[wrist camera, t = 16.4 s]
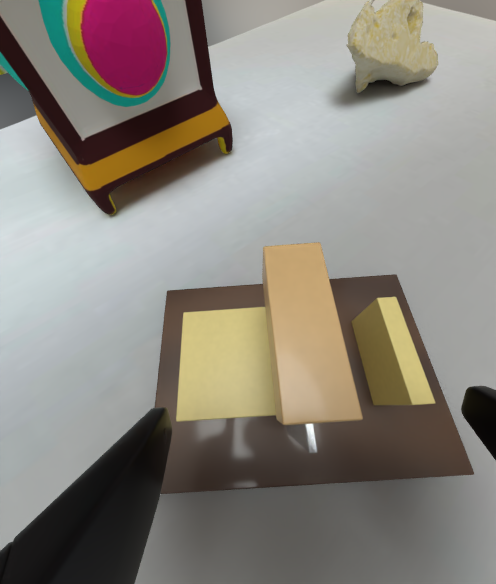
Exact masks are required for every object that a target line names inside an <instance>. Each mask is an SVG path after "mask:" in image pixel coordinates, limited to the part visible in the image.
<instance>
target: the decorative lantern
mask: <svg viewBox="0 0 496 584" xmlns="http://www.w3.org/2000/svg"><path fill="white" fill-rule="evenodd" d="M7 72H8V73H9V74H10V75H11V76H12V77H13V78H14V79H15V80H16V81H17V82H18V83H20V84H21V85H22V86H23V87H24V88H25V89H27V90H28V91H29V92H30V95H31V97H32V100H33V104H34V107H35V111H36V114H37V117H38V119H39V122H40V124H41V126H42V127H43V129H44V130H45V132H46V133H47V135H48V136H49V137H50V139H51V140H52V142H53V143H54V145H55V146H56V148H57V149H58V151H59V152H60V154H61V155H62V157H63V158H64V160H65V161H66V163H67V164H68V165H69V167H70V168H71V170H72V171H73V173H74V174H75V176H76V177H77V179H78V180H79V182H80V183H81V185H82V186H83V188H84V189H85V191H86V192H87V193H88V195H89V196H90V197H91V199H92V200H93V201H94V202H95V203H96V205H97V206H98V207H99V208H100V209H101V210H102V211H104V212H105V213H107V214H111V215H112V214H114V213H115V212H116V207H115V205H114V203H113V201H112V199H111V196H110V192H111V191H113V190H114V189H115V188H116V187H118V186H120V185H122V184H124V183H126V182H128V181H130V180H132V179H134V178H136V177H138V176H140V175H142V174H144V173H146V172H148V171H150V170H152V169H154V168H156V167H158V166H160V165H162V164H164V163H166V162H168V161H170V160H172V159H174V158H176V157H178V156H180V155H182V154H184V153H186V152H188V151H190V150H192V149H194V148H196V147H198V146H200V145H202V144H204V143H207V142H209V141H211V140H213V139H215V138H217V140H218V144H219V147H220V149H221V151H222V152H223V153H224V154H228V153H229V152H231V150H232V128H231V125H230V122H229V120H228V118H227V116H226V114H225V113H224V111H223V109H222V108H221V106H220V104H219V103H218V101H217V98H216V96H215V92H214V87H213V80H212V73H211V66H210V59H209V51H208V45H207V38H206V30H205V23H204V16H203V9H202V1H201V0H0V75H2V74H4V73H7Z"/></svg>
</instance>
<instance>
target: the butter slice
mask: <svg viewBox="0 0 496 584" xmlns="http://www.w3.org/2000/svg"><path fill="white" fill-rule="evenodd" d="M352 326H353V329H354V333H355V337H356V341H357V344H358V348H359V352H360V356H361V359H362V363H363V367H364V371H365V375H366V378H367V382H368V386H369V390H370V393H371V397H372V401H373V404H374V405H421V404H435V400H434V397H433V395H432V392H431V389H430V387H429V384H428V381H427V379H426V376H425V373H424V371H423V368H422V365H421V363H420V360H419V357H418V355H417V352H416V349H415V346H414V344H413V341H412V338H411V336H410V333H409V330H408V328H407V325H406V322H405V320H404V317H403V314H402V312H401V309H400V306H399V304H398V301H397V298H396V297H385V298H377V299H376V300H374V301H373V302H372V303H371V304H370V305H369V306H368V307H367V308H366V309H365V310H363V311H362V312H361V313H360V314H359V315H358V316H357V317H356V318H355V319H354V320H352Z"/></svg>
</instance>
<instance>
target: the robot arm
mask: <svg viewBox="0 0 496 584" xmlns="http://www.w3.org/2000/svg"><path fill="white" fill-rule="evenodd" d="M461 410H462V414H463V416H464V418H465V419H466V420H467V422H468V423H469V425H470V426H471V427H472V429H473V430H474V431H475V433H476V434H477V436H478V437H479V438H480V440H481V441H482V442H483V444H484V445H485V446H486V448H487V449H488V451H489V452H490V453H491V455H492V456H493V457H494V459H495V460H496V390H494V389H491V388H489V387H486V386H473V387H469V388H468V389H467V390H466V393H465V396H464V400H463V404H462V408H461ZM171 438H172V425H171V420H170V416H169V411H168V409H167V408H166V407H159V408H153V409H151V410H150V411H149V412H148V413H147V414H146V415H145V416H144V417H143V418H142V419H141V420H139V421H138V422H137V423H136V424H135V425H134V426H133V427H132V428H131V429H130V430H129V431H128V432H127V433H126V434H125V435H124V436H122V437H121V438H120V439H119V440H118V441H117V442H116V443H115V444H114V445H113V446H112V447H111V448H110V449H109V450H108V451H106V452H105V453H104V454H103V455H102V456H101V457H100V458H99V459H98V460H97V461H96V462H95V463H94V464H93V465H92V466H91V467H89V468H88V469H87V470H86V471H85V472H84V473H83V474H82V475H81V476H80V477H79V478H78V479H77V480H76V481H75V482H74V483H72V484H71V485H70V486H69V487H68V488H67V489H66V490H65V491H64V492H63V493H62V494H61V495H60V496H59V497H58V498H56V499H55V500H54V501H53V502H52V503H51V504H50V505H49V506H48V507H47V508H46V509H45V510H44V511H43V512H42V513H41V514H39V515H38V516H37V517H36V518H35V519H34V520H33V521H32V522H31V523H30V524H29V525H28V526H27V527H26V528H25V529H24V530H22V531H21V532H20V533H19V534H18V535H17V536H16V537H15V538H14V541H13V542H10V543H8V544H7V545H6V546H5V547H4V548H3V549H2V550H1V551H0V584H134V583H135V580H136V576H137V573H138V569H139V566H140V563H141V559H142V556H143V552H144V549H145V546H146V542H147V539H148V535H149V532H150V529H151V525H152V522H153V518H154V515H155V512H156V508H157V505H158V501H159V497H160V493H161V488H162V484H163V479H164V474H165V469H166V464H167V458H168V453H169V448H170V443H171Z"/></svg>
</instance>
